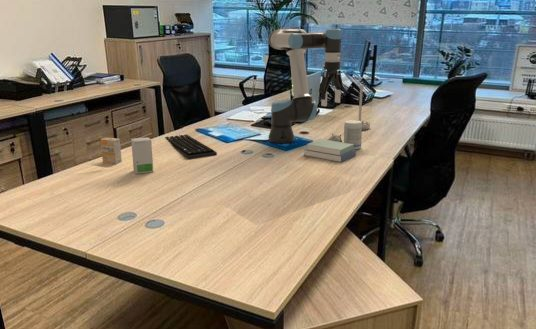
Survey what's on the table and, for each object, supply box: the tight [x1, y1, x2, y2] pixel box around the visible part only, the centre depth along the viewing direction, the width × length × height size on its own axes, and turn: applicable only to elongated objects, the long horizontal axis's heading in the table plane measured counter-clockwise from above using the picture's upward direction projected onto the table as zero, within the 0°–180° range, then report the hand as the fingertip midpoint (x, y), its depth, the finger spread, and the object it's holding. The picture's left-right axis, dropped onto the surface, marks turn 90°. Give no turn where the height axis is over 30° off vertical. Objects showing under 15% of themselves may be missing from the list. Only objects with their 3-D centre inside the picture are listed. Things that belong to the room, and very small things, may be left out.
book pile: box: [303, 138, 357, 163], centre depth 232 cm, size 22×15×6 cm
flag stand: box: [358, 83, 371, 131], centre depth 285 cm, size 13×13×30 cm
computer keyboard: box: [164, 134, 218, 160], centre depth 248 cm, size 45×16×4 cm, turn 29°
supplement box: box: [99, 137, 123, 166], centre depth 219 cm, size 8×5×13 cm, turn 70°
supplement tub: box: [343, 119, 363, 150], centre depth 246 cm, size 10×10×15 cm
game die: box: [326, 133, 343, 142], centre depth 245 cm, size 9×8×10 cm
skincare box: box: [130, 137, 154, 175], centre depth 208 cm, size 8×7×16 cm
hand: (330, 104), depth 226 cm, fingers open, 13 cm apart
